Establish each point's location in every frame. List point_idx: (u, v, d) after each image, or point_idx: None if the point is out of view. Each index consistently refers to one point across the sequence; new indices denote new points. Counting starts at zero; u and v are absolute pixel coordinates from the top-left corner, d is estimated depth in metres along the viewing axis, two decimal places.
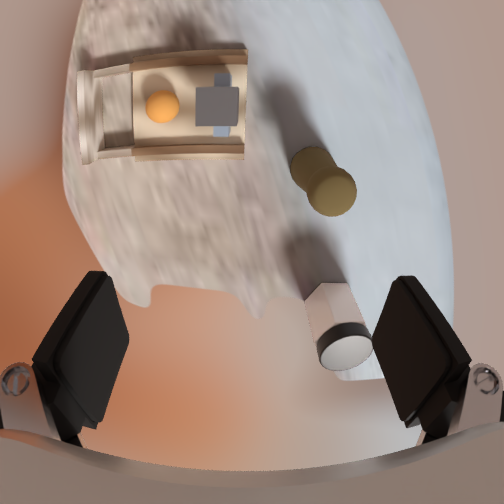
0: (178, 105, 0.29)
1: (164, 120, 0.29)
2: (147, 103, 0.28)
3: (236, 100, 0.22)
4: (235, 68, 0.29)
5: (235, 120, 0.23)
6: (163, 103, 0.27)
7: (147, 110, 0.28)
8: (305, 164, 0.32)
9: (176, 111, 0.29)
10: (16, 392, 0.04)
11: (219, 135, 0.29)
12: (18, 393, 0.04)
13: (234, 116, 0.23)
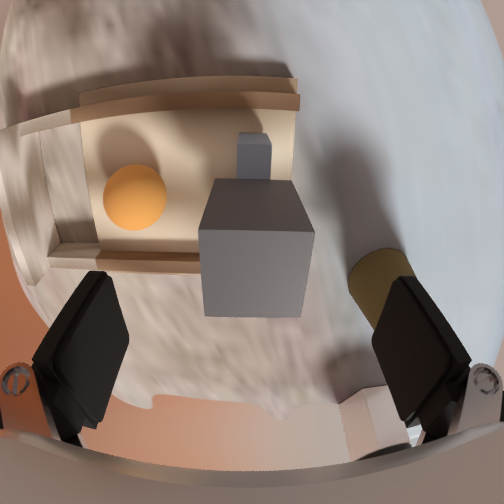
0: (164, 197, 0.16)
1: (141, 228, 0.16)
2: (104, 197, 0.15)
3: (307, 264, 0.10)
4: (272, 117, 0.16)
5: (299, 307, 0.10)
6: (133, 202, 0.14)
7: (106, 211, 0.15)
8: (383, 296, 0.19)
9: (161, 210, 0.16)
10: (16, 392, 0.04)
11: None
12: (18, 393, 0.04)
13: (298, 299, 0.10)
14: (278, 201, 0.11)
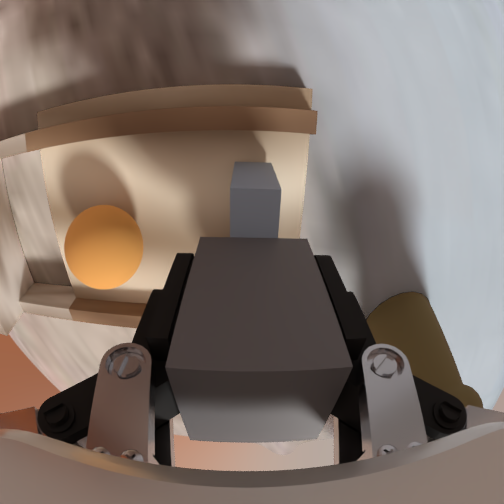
0: (138, 249, 0.12)
1: None
2: (65, 249, 0.11)
3: (333, 397, 0.06)
4: (279, 140, 0.12)
5: (316, 432, 0.07)
6: (97, 260, 0.11)
7: None
8: (404, 354, 0.15)
9: (135, 266, 0.12)
10: (121, 374, 0.05)
11: None
12: (123, 376, 0.05)
13: (316, 427, 0.06)
14: (292, 290, 0.07)
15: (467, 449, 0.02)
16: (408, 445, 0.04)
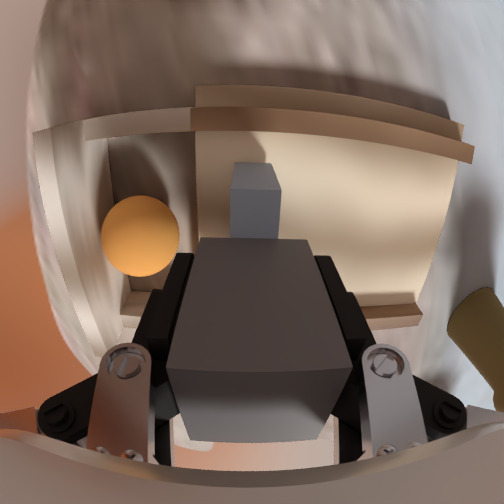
0: None
1: None
2: (176, 223, 0.14)
3: (333, 398, 0.06)
4: (440, 163, 0.13)
5: (316, 433, 0.07)
6: None
7: None
8: (490, 337, 0.16)
9: None
10: (121, 374, 0.05)
11: None
12: (123, 376, 0.05)
13: (315, 427, 0.06)
14: (293, 290, 0.07)
15: (467, 449, 0.02)
16: (408, 445, 0.04)
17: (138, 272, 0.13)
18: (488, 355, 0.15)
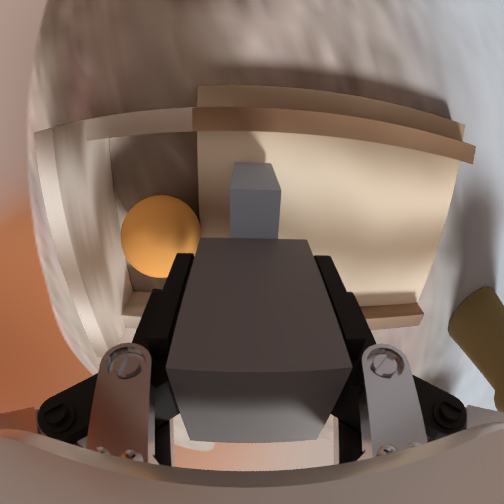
0: None
1: None
2: None
3: (333, 398, 0.06)
4: (441, 163, 0.13)
5: (316, 433, 0.07)
6: None
7: None
8: (491, 336, 0.16)
9: None
10: (121, 374, 0.05)
11: None
12: (123, 376, 0.05)
13: (315, 427, 0.06)
14: (292, 290, 0.07)
15: (467, 449, 0.02)
16: (408, 445, 0.04)
17: None
18: (489, 354, 0.15)
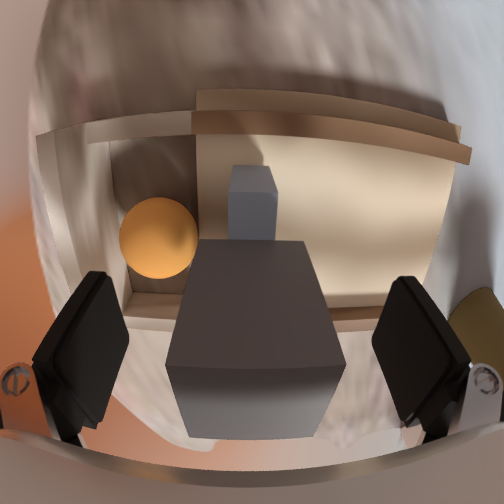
0: None
1: None
2: None
3: (328, 395, 0.06)
4: (438, 164, 0.13)
5: (313, 430, 0.07)
6: None
7: None
8: (489, 336, 0.16)
9: None
10: (16, 392, 0.04)
11: None
12: (18, 393, 0.04)
13: (312, 424, 0.07)
14: (288, 290, 0.08)
15: (467, 449, 0.02)
16: None
17: (175, 270, 0.13)
18: (487, 355, 0.15)
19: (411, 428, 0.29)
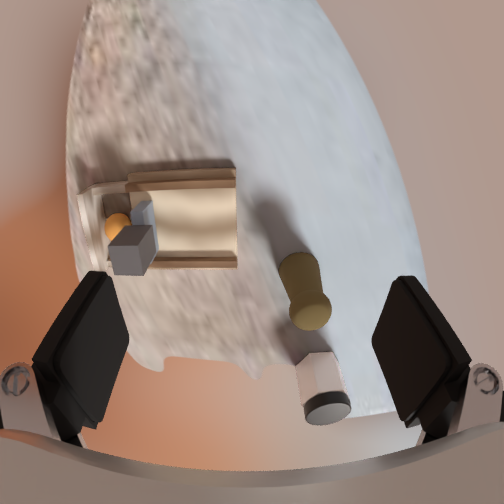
0: None
1: None
2: (130, 220, 0.37)
3: (139, 256, 0.29)
4: (224, 189, 0.35)
5: (141, 271, 0.29)
6: None
7: None
8: (290, 278, 0.38)
9: None
10: (16, 392, 0.04)
11: None
12: (18, 393, 0.04)
13: (140, 268, 0.29)
14: (137, 235, 0.30)
15: (467, 449, 0.02)
16: None
17: None
18: (288, 289, 0.38)
19: (301, 365, 0.51)
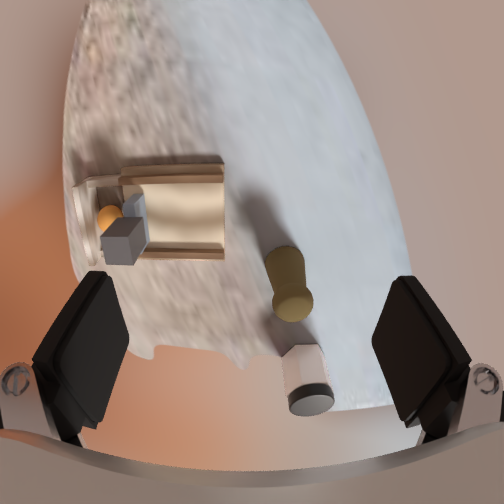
0: None
1: None
2: (122, 213, 0.38)
3: (129, 246, 0.30)
4: (213, 184, 0.37)
5: (131, 261, 0.31)
6: None
7: None
8: (275, 271, 0.40)
9: None
10: (16, 392, 0.04)
11: None
12: (18, 393, 0.04)
13: (130, 258, 0.30)
14: (128, 226, 0.31)
15: (467, 449, 0.02)
16: None
17: None
18: (273, 281, 0.39)
19: (286, 356, 0.53)
